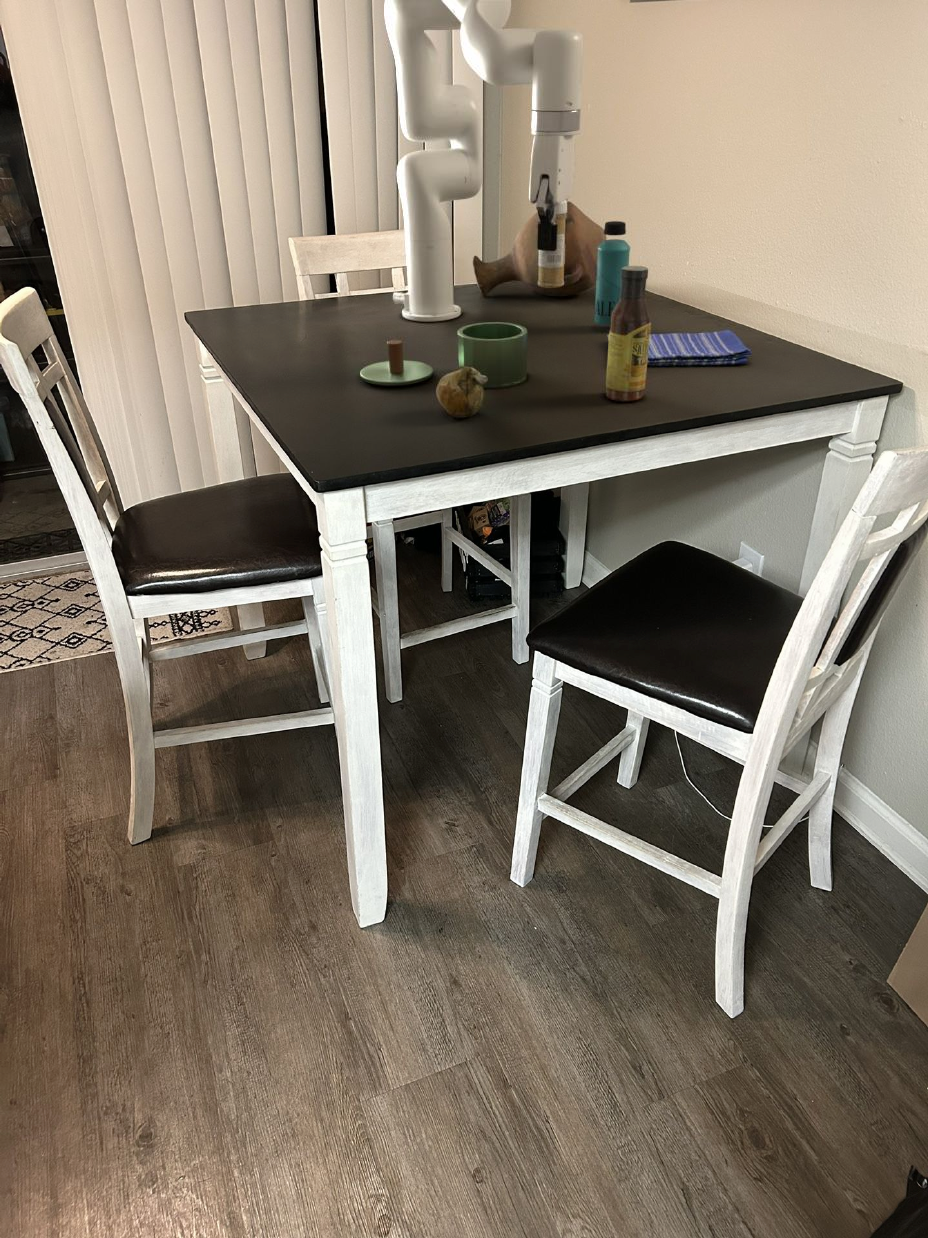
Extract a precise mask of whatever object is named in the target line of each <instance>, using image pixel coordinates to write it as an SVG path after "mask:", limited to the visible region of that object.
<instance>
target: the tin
mask: <svg viewBox="0 0 928 1238" xmlns="http://www.w3.org/2000/svg"><path fill="white" fill-rule="evenodd" d="M457 347H458V348H457V349H458V351H457V352H458V353H457V354H458V370H461V369H462V368H461V366H467V367H473V368H474V369H475V370H477V371H478V372H479V373H480V374H481V375H483V376H486V377H487V378H488V380H487V382H485V383H484V384H483V385H481V384H479V383H478V384H479V386H482V388H483V389H503V388H510V387H514V386H517V385H520V384H522V383H524V382H525V381H526V379H527V375H528V374H527V373H528V330H527V328H526V327H524V326H522V325H520V324H516V323H511V322H502V321H493V322H492V321H491V322H489V321H486V322H485V321H484V322H477V323H471V324H468V325H463V326H462V327H460V328H459V329H458V330H457Z"/></svg>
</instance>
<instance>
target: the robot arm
mask: <svg viewBox="0 0 928 1238" xmlns="http://www.w3.org/2000/svg"><path fill="white" fill-rule="evenodd" d="M383 7H384V11H383V12H384V23H385V28H386V31H387V35H388V40H389V42H390V46H391V49H392V53H393V56H394V62H395V68H396V69H395V71H396V72H395V73H396V75H395V76H396V86H397V87H396V88H397V99H398V109H399V111H398V112H399V119H400V127H401V131H402V133H403V135H404V137H405V138H406V139H407V140H409V141H411V142H414V143H433V142H445V141H449V142H450V145H451V148H450V147H449V148H434V149H432V148H431V149H421V150H415V151H412V152H408V153H407V154H405V155H404V156H403V157H402V158H401V159H400V160H399V162H398V164H397V168H396V180H397V186H398V190H399V195H400V200H401V205H402V210H403V211H402V212H403V223H404V237H405V238H404V239H405V255H406V274H407V275H406V276H407V292H406V293H403V292H393V294H392V301H393V304H396V305H403V306H404V307H403V308H402V311H401V314H402V315H401V316H402V317H403V318H404V319H406V320H410V321H414V322H425V323H426V322H427V323H429V322H432V323H433V322H442V321H449V320H453V319H456V318H458V317H460V316H461V314H462V310H461V309H462V308H461V307H460V306H459V305H457V304H454V272H453V241H452V240H453V239H452V238H453V237H452V225H451V222H450V219H449V217H448V215H446V213H445V211H444V210H443V208H442V207H441V205H440V203H444V202H452V201H453V202H454V201H460V200H469V199H472V198H474V197H476V196H477V195H478V194H479V192H480V190H481V188H482V184H483V176H484V169H483V168H484V167H483V165H484V163H483V144H482V143H483V142H482V141H483V140H482V119H481V109H480V105H479V101H478V99H477V96H476V94H475V93H474V92H473V90H472V89H471V88H470V87H468V86H466V85H462V84H447V85H446V84H443V80H442V66H441V65H442V63H441V57H440V55H439V52H438V50H437V48H436V46H435V44H434V43H433V41H432V40H431V38H430V37H429V36H428V34H427V33H426V32H425V31H460V32H459V33H460V35H459V36H460V45H461V50H462V54H463V57H464V59H465V61H466V63H467V64H468V65H469V66H470V68H471V69H472V70H473V71H474V72H475V74H476V75H478V77H479V78H480V79H481V80H483V81H484V82H486V83H487V84H490V85H492V86H496V87H497V86H499V87H500V86H517V85H518V86H520V85H522V86H523V85H531V86H532V89H531V90H532V91H531V135H533V141H532V147H531V148H532V149H531V158H530V169H529V170H530V172H529V187H528V201H529V203H530V204H532V205H535V204H536V206H535V207H536V208H535V209H536V212H537V213H538V242H537V249H538V250H543V251H555V250H556V249H557V231H558V225H556V224H555V223H556V214H557V204H559V203H561V202H562V201H564V200H566V201H568V200H569V198H571V197H572V196H573V193H574V184H575V159H576V158H575V156H576V155H575V146H576V145H575V135H579V134H580V132H581V131H580V128H581V106H582V105H581V103H582V87H583V86H582V85H583V66H584V65H583V64H584V63H583V62H584V36H583V34H582V33H581V32H580V31H579V30H577V29H554V28H553V29H552V28H546V27H545V28H544V27H542V28H541V27H540V28H539V27H538V28H537V27H535V28H528V27H523V28H521V27H520V28H518V27H517V28H515V27H514V28H504V27H505V26H506V24H507V22H508V20H509V18H510V15H511V9H512V0H384V6H383ZM547 200H552V201H553V203H547ZM567 203H568V202H567ZM547 208H552V213H551V211H550V209H547ZM566 218H567V212H566V216H565V219H566ZM566 225H567V219H566V220H565V243H566Z"/></svg>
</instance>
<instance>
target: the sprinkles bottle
mask: <svg viewBox="0 0 928 1238" xmlns="http://www.w3.org/2000/svg"><path fill="white" fill-rule="evenodd" d="M567 201H568V200H567ZM567 201H566V200H564V201H562V202H561V203H559V204H557V214H556V223H555V224H556V225H558V231H557V249H556V250H555V251H543V250H539V263H538V264H539V280H538V285H539V286H541V287H545V288H557V287H561V286H563V285H564V280H563V278H564V264H565V220H566V219H565V216H566V212H567ZM547 203H553V201H552V200H547ZM547 209H550V211H551V213H552V208H547Z"/></svg>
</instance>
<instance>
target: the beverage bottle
mask: <svg viewBox="0 0 928 1238" xmlns="http://www.w3.org/2000/svg"><path fill="white" fill-rule="evenodd" d="M626 225H627V224H626V222H624V221H619V220H612V221H610V220H609V221H606V222H605V223H604V228H603V229H604V234H605V235H606V236H623V235H626V234H627V230H626V229H627V228H626ZM630 253H631V246H630V245H629V243H628V242H627V241H626V240H624V239H616V238H612V239H611V238H610V239H606V240H604V241H603V242H602V243H601V244H600V245H599V246H598V260H597V264H596V265H597V267H596V272H597V274H596V276H597V277H596V281H595V290H594V293H595V297H594V305H593V312H594V314H593V320H594V322H595V323H596V324H599V325H603V326H611V316H612V312H613V310H614V308H615V306H616V305H617V304H618V302H619V300H620V298H621V297H620V293H621V283H622V279H621V268H623V267H626V266H630Z"/></svg>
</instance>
